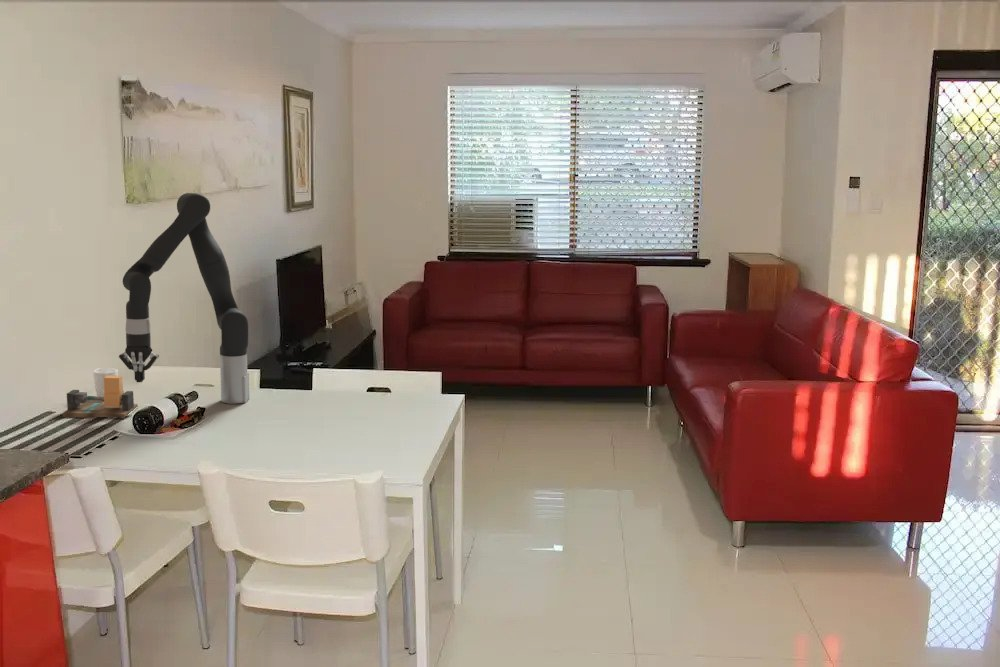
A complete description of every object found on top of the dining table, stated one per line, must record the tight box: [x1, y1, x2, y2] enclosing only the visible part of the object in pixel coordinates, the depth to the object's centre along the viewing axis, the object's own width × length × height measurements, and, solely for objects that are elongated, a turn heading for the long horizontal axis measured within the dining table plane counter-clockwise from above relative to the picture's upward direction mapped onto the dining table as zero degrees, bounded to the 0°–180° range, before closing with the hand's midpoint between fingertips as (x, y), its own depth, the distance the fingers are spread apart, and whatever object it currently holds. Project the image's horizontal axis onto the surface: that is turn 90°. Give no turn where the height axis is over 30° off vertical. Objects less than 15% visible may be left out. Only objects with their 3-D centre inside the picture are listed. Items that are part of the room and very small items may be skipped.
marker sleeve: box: [103, 375, 125, 407], centre depth 302 cm, size 5×4×10 cm
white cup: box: [93, 367, 119, 396], centre depth 320 cm, size 8×8×10 cm
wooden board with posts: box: [62, 389, 139, 418], centre depth 303 cm, size 20×12×7 cm, turn 92°
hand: (139, 381), depth 302 cm, fingers closed
